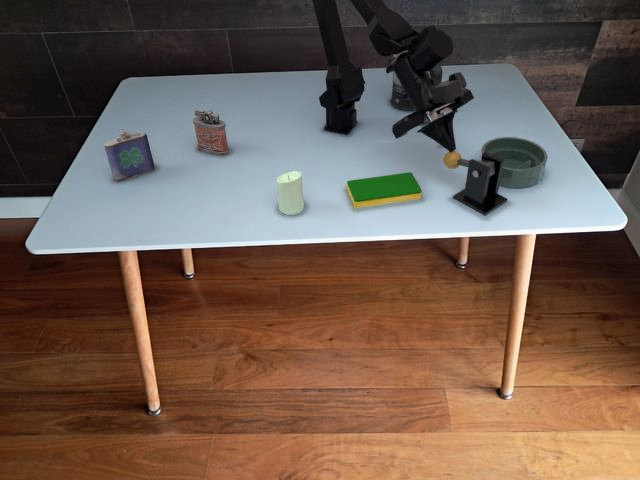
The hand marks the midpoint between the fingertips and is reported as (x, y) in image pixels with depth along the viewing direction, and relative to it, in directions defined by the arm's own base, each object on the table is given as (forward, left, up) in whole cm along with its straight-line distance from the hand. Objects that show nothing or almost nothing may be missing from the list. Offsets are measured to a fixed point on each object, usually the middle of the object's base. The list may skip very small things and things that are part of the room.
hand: (453, 150), depth 117 cm
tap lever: (+4, -2, -3) cm, 5 cm away
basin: (+11, +9, -8) cm, 16 cm away
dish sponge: (-11, -9, -9) cm, 17 cm away
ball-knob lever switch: (+7, -3, -8) cm, 12 cm away
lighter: (-54, -7, -9) cm, 55 cm away
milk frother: (-17, +35, -9) cm, 40 cm away
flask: (-65, -22, -9) cm, 69 cm away
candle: (-27, -20, -9) cm, 34 cm away
